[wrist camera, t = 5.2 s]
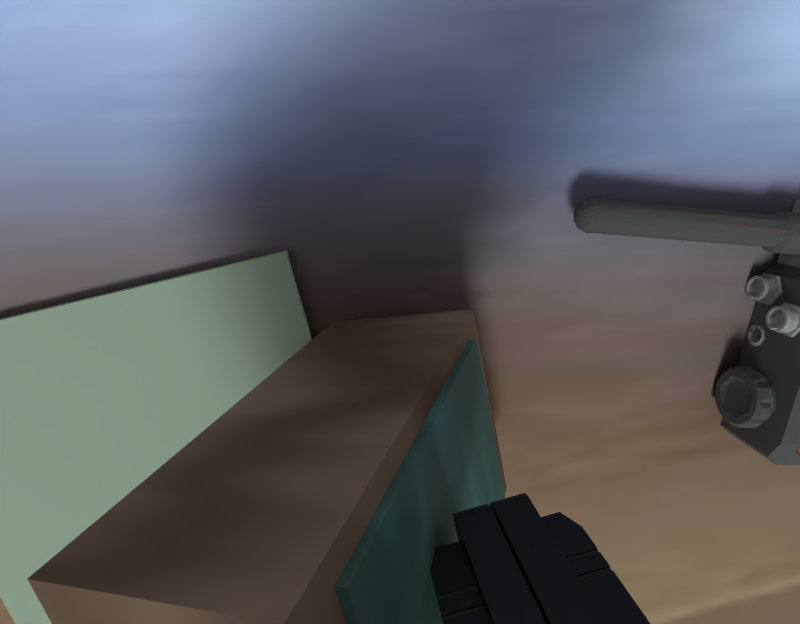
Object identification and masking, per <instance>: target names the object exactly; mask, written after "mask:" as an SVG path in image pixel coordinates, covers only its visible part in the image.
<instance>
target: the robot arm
mask: <svg viewBox="0 0 800 624" xmlns="http://www.w3.org/2000/svg"><path fill="white" fill-rule="evenodd" d="M453 518H454V523H455V528H456V532H457V537H458V542H454V543H451V544H447V545H444V546H440V547H437V548H435V551H434V555H433V560H432V564H431V569H430V573H431V577H432V581H433V585H434V589H435V593H436V597H437V601H438V605H439V609H440V613H441V617H442V621H443V624H650V623H649V621H648V620H647V618H646V617H645V615H644V614H643V613H642V611H641V610H640V608H639V607H638V605H637V604H636V603H635V601H634V600H633V598H632V597H631V596H630V594H629V593H628V591H627V590H626V588H625V587H624V586H623V584H622V583H621V581H620V580H619V578H618V577H617V576H616V574H615V573H614V571H613V570H612V571H611V569H610V566H609V564H608V563H607V561H606V560H605V559H604V557H603V556H602V554H601V553H600V552H598V550H597V547H596V546H595V544H594V543H593V542H592V540H591V539H590V537H589V536H588V534H587V533H586V532H585V530H584V529H583V527H582V526H580V525H579V524H577V523H575V522H574V521H572V520H571V519H569V518H568V517H566V516H565V515H563V514H562V513H560V512H558V513H555V514H551V515H548V516H544V517H540V515H539V514H538V512H537V510H536V509H535V507H534V505H533V504H532V502H531V500H530V499H529V497H528V496H527V495H526V494H525V493H523V494H519V495H516V496H512V497H509V498H505V499H501V500H498V501H494V502H491V503H490V506H489V505H488V504H484V505H481V506H477V507H474V508H470V509H467V510H463V511H460V512H456V513H453Z"/></svg>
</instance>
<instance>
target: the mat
mask: <svg viewBox="0 0 800 624" xmlns="http://www.w3.org/2000/svg"><path fill="white" fill-rule="evenodd" d="M311 340H312V335H311V332H310V328H309V325H308V321H307V318H306V314H305V311H304V307H303V304H302V300H301V297H300V293H299V290H298V287H297V283H296V280H295V276H294V273H293V269H292V266H291V262H290V259H289V255H288V252H287V250H285V251H281V252H277V253H273V254H268V255H264V256H260V257H256V258H252V259H248V260H243V261H239V262H235V263H231V264H227V265H222V266H218V267H214V268H210V269H206V270H202V271H197V272H193V273H189V274H185V275H181V276H176V277H172V278H168V279H164V280H160V281H156V282H151V283H147V284H143V285H139V286H135V287H130V288H126V289H122V290H118V291H114V292H110V293H105V294H101V295H97V296H93V297H89V298H85V299H80V300H76V301H72V302H68V303H64V304H59V305H55V306H51V307H47V308H43V309H39V310H34V311H30V312H26V313H22V314H18V315H13V316H9V317H5V318H1V319H0V598H1V599H2V601H3V603H4V605H5V606H6V608H7V610H8V612H9V613H10V615H11V617H12V618H13V620H14V622H15V624H52V623H51V621H50V619H49V618H48V616H47V614H46V612H45V610H44V609H43V607H42V605H41V603H40V601H39V600H38V598H37V596H36V594H35V592H34V590H33V589H32V587H31V585H30V583H29V581H28V580H27V579H28V578H29V577H30V576H31V575H32V574H33V573H35V572H36V571H37V570H38V569H39V568H41V567H42V566H43V565H44V564H45V563H47V562H48V561H49V560H50V559H51V558H53V557H54V556H55V555H56V554H57V553H58V552H60V551H61V550H62V549H63V548H64V547H66V546H67V545H68V544H69V543H70V542H72V541H73V540H74V539H75V538H76V537H78V536H79V535H80V534H81V533H82V532H83V531H85V530H86V529H87V528H88V527H89V526H91V525H92V524H93V523H94V522H95V521H97V520H98V519H99V518H100V517H101V516H102V515H104V514H105V513H106V512H107V511H108V510H110V509H111V508H112V507H113V506H114V505H116V504H117V503H118V502H119V501H120V500H122V499H123V498H124V497H125V496H126V495H127V494H129V493H130V492H131V491H132V490H133V489H135V488H136V487H137V486H138V485H139V484H141V483H142V482H143V481H144V480H145V479H147V478H148V477H149V476H150V475H151V474H152V473H154V472H155V471H156V470H157V469H158V468H160V467H161V466H162V465H163V464H164V463H166V462H167V461H168V460H169V459H170V458H172V457H173V456H174V455H175V454H176V453H177V452H179V451H180V450H181V449H182V448H183V447H185V446H186V445H187V444H188V443H189V442H191V441H192V440H193V439H194V438H195V437H197V436H198V435H199V434H200V433H201V432H202V431H204V430H205V429H206V428H207V427H208V426H210V425H211V424H212V423H213V422H214V421H216V420H217V419H218V418H219V417H220V416H221V415H223V414H224V413H225V412H226V411H227V410H229V409H230V408H231V407H232V406H233V405H235V404H236V403H237V402H238V401H239V400H241V399H242V398H243V397H244V396H245V395H246V394H248V393H249V392H250V391H251V390H252V389H254V388H255V387H256V386H257V385H258V384H260V383H261V382H262V381H263V380H264V379H266V378H267V377H268V376H269V375H270V374H271V373H273V372H274V371H275V370H276V369H277V368H279V367H280V366H281V365H282V364H283V363H285V362H286V361H287V360H288V359H289V358H291V357H292V356H293V355H294V354H295V353H296V352H298V351H299V350H300V349H301V348H302V347H304V346H305V345H306V344H307V343H308V342H310V341H311Z"/></svg>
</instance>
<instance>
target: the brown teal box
mask: <svg viewBox="0 0 800 624" xmlns="http://www.w3.org/2000/svg"><path fill="white" fill-rule="evenodd" d="M505 491H506V483H505V478H504V472H503V467H502V461H501V456H500V450H499V445H498V439H497V434H496V428H495V423H494V417H493V412H492V407H491V401H490V396H489V390H488V385H487V379H486V374H485V368H484V363H483V357H482V352H481V346H480V341H479V335H478V330H477V325H476V319H475V314H474V309H468V310H457V311H446V312H435V313H423V314H412V315H401V316H389V317H378V318H367V319H356V320H344V321H333V322H332V323H331V324H330V325H329V326H327V327H326V328H325V329H324V330H323V331H321V332H320V333H319V334H318V335H317V336H316V337H314V338H313V339H312V340H311V341H310V342H308V343H307V344H306V345H305V346H304V347H302V348H301V349H300V350H299V351H298V352H296V353H295V354H294V355H293V356H292V357H291V358H289V359H288V360H287V361H286V362H285V363H283V364H282V365H281V366H280V367H279V368H277V369H276V370H275V371H274V372H273V373H271V374H270V375H269V376H268V377H267V378H266V379H264V380H263V381H262V382H261V383H260V384H258V385H257V386H256V387H255V388H254V389H252V390H251V391H250V392H249V393H248V394H246V395H245V396H244V397H243V398H242V399H241V400H239V401H238V402H237V403H236V404H235V405H233V406H232V407H231V408H230V409H229V410H227V411H226V412H225V413H224V414H223V415H221V416H220V417H219V418H218V419H217V420H216V421H214V422H213V423H212V424H211V425H210V426H208V427H207V428H206V429H205V430H204V431H202V432H201V433H200V434H199V435H198V436H197V437H195V438H194V439H193V440H192V441H191V442H189V443H188V444H187V445H186V446H185V447H183V448H182V449H181V450H180V451H179V452H177V453H176V454H175V455H174V456H173V457H172V458H170V459H169V460H168V461H167V462H166V463H164V464H163V465H162V466H161V467H160V468H158V469H157V470H156V471H155V472H154V473H152V474H151V475H150V476H149V477H148V478H147V479H145V480H144V481H143V482H142V483H141V484H139V485H138V486H137V487H136V488H135V489H133V490H132V491H131V492H130V493H129V494H127V495H126V496H125V497H124V498H123V499H122V500H120V501H119V502H118V503H117V504H116V505H114V506H113V507H112V508H111V509H110V510H108V511H107V512H106V513H105V514H104V515H102V516H101V517H100V518H99V519H98V520H97V521H95V522H94V523H93V524H92V525H91V526H89V527H88V528H87V529H86V530H85V531H83V532H82V533H81V534H80V535H79V536H78V537H76V538H75V539H74V540H73V541H72V542H70V543H69V544H68V545H67V546H66V547H64V548H63V549H62V550H61V551H60V552H58V553H57V554H56V555H55V556H54V557H53V558H51V559H50V560H49V561H48V562H47V563H45V564H44V565H43V566H42V567H41V568H39V569H38V570H37V571H36V572H35V573H33V574H32V575H31V576H30V577H29V578H28V579H27V580H28V581H29V583H30V585H31V587H32V589H33V590H34V592H35V594H36V596H37V598H38V600H39V601H40V603H41V605H42V607H43V609H44V610H45V612H46V614H47V616H48V618H49V619H50V621H51V623H52V624H443V621H442V617H441V613H440V609H439V605H438V601H437V597H436V593H435V589H434V585H433V581H432V577H431V573H430V569H431V564H432V560H433V555H434V551H435V548H437V547H440V546H444V545H447V544H451V543H454V542H458V537H457V532H456V528H455V523H454V518H453V513H456V512H460V511H463V510H467V509H470V508H474V507H477V506H481V505H484V504H488V505H489V506H490V503H491V502H494V501H498V500H501V499H504V498H505Z"/></svg>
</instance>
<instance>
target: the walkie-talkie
mask: <svg viewBox="0 0 800 624" xmlns="http://www.w3.org/2000/svg"><path fill="white" fill-rule="evenodd" d="M574 222H575V224H576V226H577V227H578V229H580V230H582V231H584V232H586V233H598V234H611V235H624V236H637V237H649V238H662V239H675V240H687V241H700V242H713V243H725V244H738V245H751V246H761V247H762V248H763V249H764V250H765V251H769V252H772V253H779V256H778V260H777V264H776V265H774V266H772V267H771V268H769V269H767V270H766V271H764V273H762V275H761V276H753V277H752V278H750V279H749V280H748V282H747V284H746V287H745V289H746V294H747V296H748V297H749V298H750V299H754V300H755V301H756V302H755V306H754V309H753V313H752V316H751V320H750V323H749V327H748V330H747V334H746V337H745V341H744V344H743V348H742V351H741V355H740V358H739V362H738V365H737V366H736V367H730V368H728V369H727V370H725V371H724V372H723V373H722V375H721V376H720V377H719V379H718V381H717V384H716V389H715V397H716V405H717V407H718V409H719V412H720V413H721V415H722V416H723V418H722V421H721V425H722V426H723V427H724V428H725V429H726V430H727V431H728V432H729V433H730V434H732V435H733V436H735V437H736V438H738V439H739V440H741V441H742V442H744V443H745V444H747V445H748V446H749V447H751V448H752V449H754V450H755V451H757V452H758V453H760V454H761V455H763V456H764V457H766V458H767V459H769V460H770V461H772V462H773V463H774V464H776V465H800V199H796V200H795V202H794V206H793V209H792V212H786V211H777V212H773V213H771V214H770V215H768V214H758V213H747V212H737V211H726V210H715V209H705V208H694V207H684V206H673V205H662V204H652V203H641V202H630V201H620V200H609V199H598V198H589V199H586V200H585V201H583V202H581V203H579V205H578V206H577V208H576V209H575V211H574Z"/></svg>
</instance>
